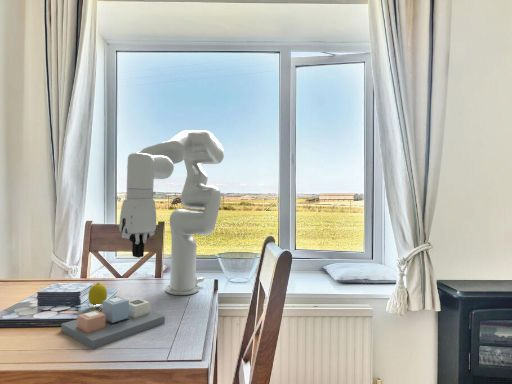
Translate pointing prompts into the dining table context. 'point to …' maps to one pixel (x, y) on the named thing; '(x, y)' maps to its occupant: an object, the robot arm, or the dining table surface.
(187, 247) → the robot arm
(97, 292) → the lemon
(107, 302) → the key slate
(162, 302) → the dining table surface
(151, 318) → the keypad board
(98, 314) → the key terracotta
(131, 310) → the key cream
